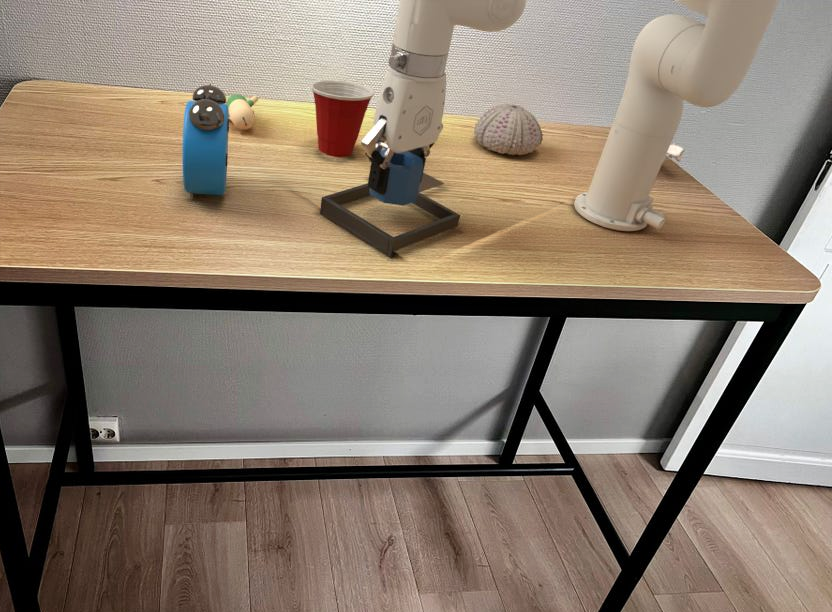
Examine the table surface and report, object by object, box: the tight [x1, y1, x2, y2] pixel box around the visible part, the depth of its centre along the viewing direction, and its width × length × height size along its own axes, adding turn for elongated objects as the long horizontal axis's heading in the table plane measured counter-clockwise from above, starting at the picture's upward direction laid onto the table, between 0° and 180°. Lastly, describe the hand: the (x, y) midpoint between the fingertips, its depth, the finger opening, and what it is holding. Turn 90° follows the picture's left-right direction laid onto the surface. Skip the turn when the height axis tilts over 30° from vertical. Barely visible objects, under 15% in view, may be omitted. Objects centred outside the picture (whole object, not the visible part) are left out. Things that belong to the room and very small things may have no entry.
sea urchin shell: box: [473, 103, 544, 156], centre depth 141 cm, size 13×14×8 cm
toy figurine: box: [225, 93, 259, 131], centre depth 133 cm, size 8×4×12 cm
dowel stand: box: [411, 150, 445, 193], centre depth 121 cm, size 9×9×8 cm
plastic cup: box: [310, 79, 375, 158], centre depth 125 cm, size 11×11×12 cm
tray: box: [319, 182, 461, 258], centre depth 111 cm, size 15×15×3 cm
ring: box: [370, 148, 424, 207], centre depth 107 cm, size 7×7×6 cm
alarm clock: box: [182, 83, 230, 200], centre depth 107 cm, size 13×6×15 cm, turn 6°
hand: (394, 184), depth 107 cm, fingers closed on ring, 7 cm apart
